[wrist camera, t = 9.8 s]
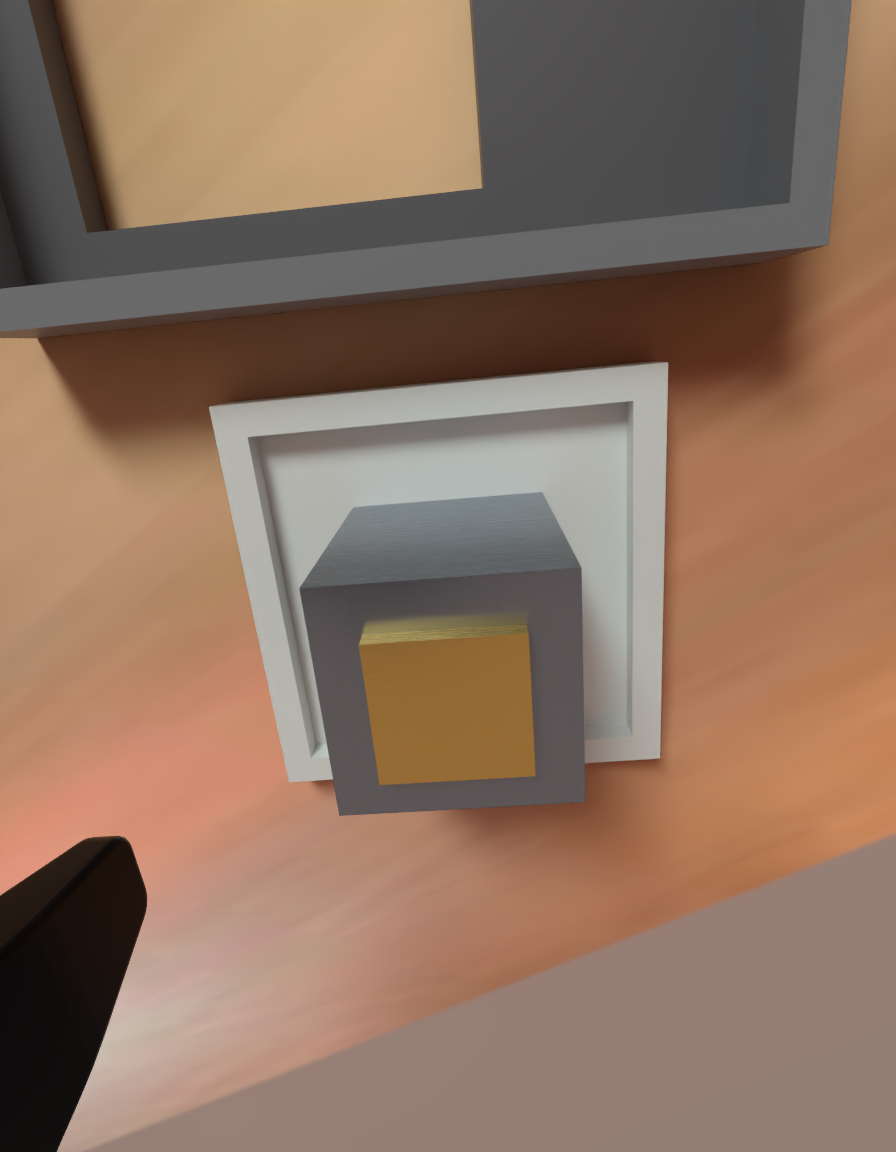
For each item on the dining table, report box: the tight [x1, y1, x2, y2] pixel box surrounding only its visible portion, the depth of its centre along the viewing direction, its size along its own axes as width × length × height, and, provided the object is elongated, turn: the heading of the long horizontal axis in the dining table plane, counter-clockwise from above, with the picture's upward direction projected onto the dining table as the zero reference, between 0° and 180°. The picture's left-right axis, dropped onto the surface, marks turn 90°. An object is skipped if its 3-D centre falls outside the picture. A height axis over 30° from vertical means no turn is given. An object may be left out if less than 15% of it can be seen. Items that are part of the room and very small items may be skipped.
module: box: [299, 492, 586, 816], centre depth 15 cm, size 5×5×6 cm
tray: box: [209, 361, 668, 782], centre depth 18 cm, size 11×11×1 cm
